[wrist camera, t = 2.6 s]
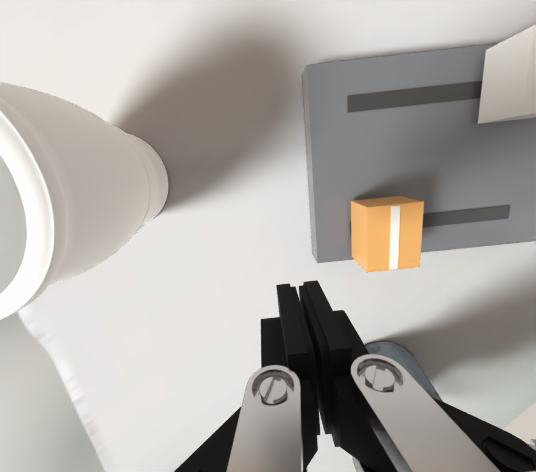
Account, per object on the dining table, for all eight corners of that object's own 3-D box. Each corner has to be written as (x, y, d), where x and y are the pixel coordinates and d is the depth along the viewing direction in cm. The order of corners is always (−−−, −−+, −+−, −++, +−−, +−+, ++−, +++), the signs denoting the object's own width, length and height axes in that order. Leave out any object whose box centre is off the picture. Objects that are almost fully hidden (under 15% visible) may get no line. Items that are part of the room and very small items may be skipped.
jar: (87, 96, 22) (-274, -45, 7) (198, 155, 23) (88, 138, 9) (53, 206, 24) (-265, 267, 10) (156, 253, 25) (14, 369, 11)
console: (564, 47, 21) (605, 30, 19) (530, 231, 25) (560, 238, 23) (301, 76, 21) (306, 64, 19) (312, 253, 26) (317, 263, 23)
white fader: (541, 43, 18) (605, 15, 15) (529, 118, 20) (585, 108, 16) (485, 50, 18) (537, 23, 15) (477, 123, 20) (523, 114, 16)
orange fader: (398, 195, 21) (424, 201, 18) (396, 252, 23) (420, 267, 19) (350, 200, 21) (367, 207, 18) (351, 256, 23) (367, 273, 19)
